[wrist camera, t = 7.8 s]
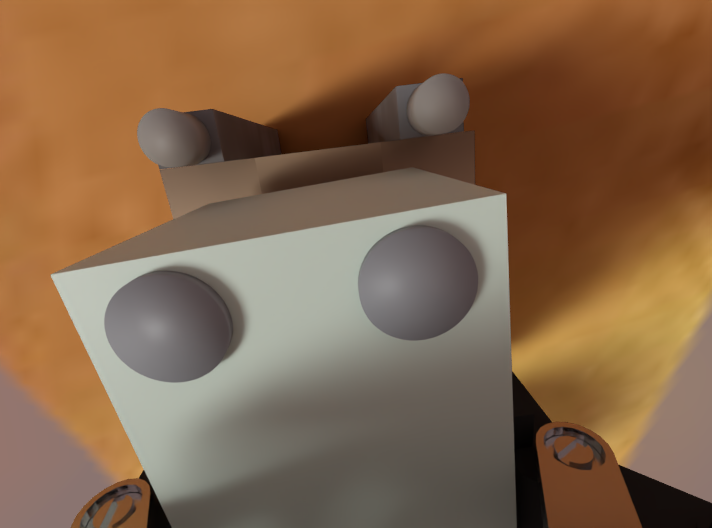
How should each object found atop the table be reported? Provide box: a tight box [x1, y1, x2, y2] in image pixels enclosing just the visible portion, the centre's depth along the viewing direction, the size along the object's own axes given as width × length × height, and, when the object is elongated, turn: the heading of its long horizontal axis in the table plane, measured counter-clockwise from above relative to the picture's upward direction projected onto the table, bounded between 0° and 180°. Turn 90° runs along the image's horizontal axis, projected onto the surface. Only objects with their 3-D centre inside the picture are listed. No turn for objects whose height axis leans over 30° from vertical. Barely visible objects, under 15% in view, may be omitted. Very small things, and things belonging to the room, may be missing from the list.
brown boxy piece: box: [137, 74, 475, 219], centre depth 15 cm, size 15×10×10 cm, turn 7°
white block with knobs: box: [51, 167, 517, 528], centre depth 9 cm, size 12×6×7 cm, turn 10°
